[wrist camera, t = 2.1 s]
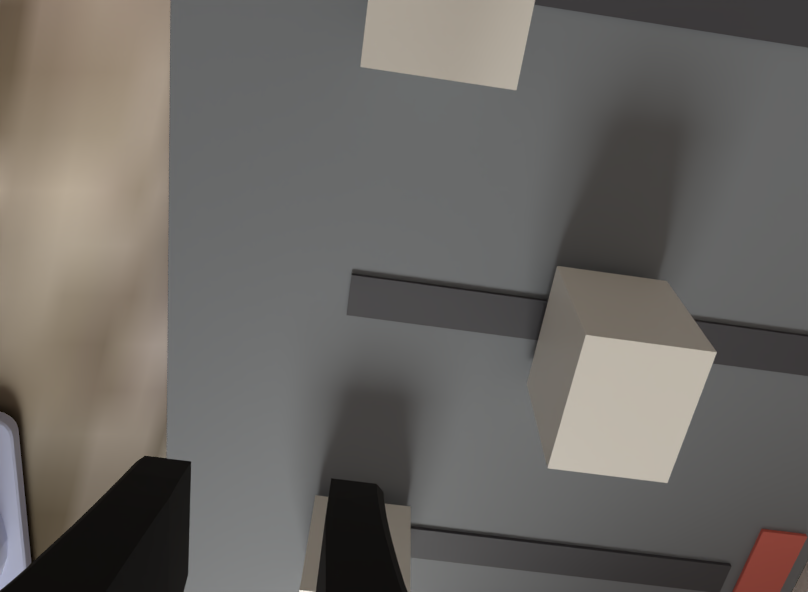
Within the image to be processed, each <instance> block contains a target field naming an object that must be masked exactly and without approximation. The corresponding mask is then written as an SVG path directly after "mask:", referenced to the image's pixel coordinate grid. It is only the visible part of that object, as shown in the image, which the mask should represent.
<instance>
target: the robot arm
mask: <svg viewBox="0 0 808 592" xmlns="http://www.w3.org/2000/svg"><path fill="white" fill-rule="evenodd" d="M190 490H191V461H184V460H175V459H167V458H159V457H150V456H144V457H143V458H141V459H140V460H138V461H137V462H136V463H135V464H134V465H133V466H132V467H131V468H130V469H129V470H128V471H127V472H126V473H125V474H124V475H123V476H122V477H121V478H120V479H119V480H118V481H117V482H116V483H115V484H114V485H113V486H112V487H111V488H110V489H109V490H108V491H107V492H106V493H105V494H104V495H103V496H102V497H101V498H100V499H99V500H98V501H97V502H96V503H95V504H94V505H93V506H92V507H91V508H90V509H89V510H88V511H87V512H86V513H85V514H84V515H83V516H82V517H81V518H80V519H79V520H78V521H77V522H76V523H75V524H74V525H73V526H72V527H70V528H69V529H68V530H67V531H66V532H65V533H64V534H63V535H62V536H61V537H60V538H59V539H57V540H56V541H55V542H54V543H53V544H52V545H51V546H50V547H49V548H48V549H47V550H45V551H44V552H43V553H42V554H41V555H40V556H39V557H38V558H37V559H36V560H35V561H33V562H32V563H31V554H30V543H29V533H28V523H27V512H26V502H25V492H24V481H23V471H22V461H21V450H20V440H19V430H18V426H17V423H16V422H15V421H14V419H13V418H12V417H11V416H9V415H7V414H6V413H3V412H0V592H184V588H185V585H186V581H187V577H188V565H189V528H190ZM316 592H408V591H407V589H406V586H405V583H404V580H403V576H402V573H401V570H400V567H399V564H398V560H397V556H396V553H395V549H394V545H393V542H392V538H391V534H390V529H389V525H388V520H387V515H386V509H385V503H384V492H383V491H382V489H381V488H380V487H379V486H378V485H377V484H375V483H366V482H358V481H350V480H341V479H333V478H331V483H330V490H329V496H328V503H327V510H326V516H325V524H324V532H323V539H322V547H321V555H320V562H319V570H318V578H317V586H316Z"/></svg>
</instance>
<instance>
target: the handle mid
mask: <svg viewBox="0 0 808 592" xmlns="http://www.w3.org/2000/svg"><path fill="white" fill-rule="evenodd" d="M716 353H717V352H716V350H715V349H714V348H713V346H712V345H711V343H710V342H709V340H708V339H707V338H706V336H705V335H704V333H703V332H702V330H701V329H700V328H699V326H698V325H697V323H696V322H695V320H694V319H693V318H692V316H691V315H690V313H689V312H688V310H687V309H686V308H685V306H684V305H683V303H682V302H681V300H680V299H679V298H678V296H677V295H676V293H675V292H674V291H673V289H672V288H671V286H670V285H669V283H668V282H667V281H663V280H656V279H649V278H642V277H634V276H627V275H620V274H613V273H605V272H598V271H591V270H584V269H576V268H569V267H562V266H557V268H556V272H555V276H554V280H553V284H552V287H551V291H550V295H549V299H548V303H547V307H546V311H545V315H544V319H543V323H542V327H541V330H540V334H539V338H538V342H537V346H536V350H535V354H534V358H533V362H532V366H531V369H530V373H529V377H528V381H527V387H528V391H529V395H530V399H531V403H532V407H533V411H534V415H535V419H536V423H537V428H538V432H539V436H540V440H541V444H542V448H543V452H544V456H545V460H546V464H547V468H549V469H557V470H565V471H574V472H582V473H590V474H598V475H606V476H614V477H622V478H631V479H639V480H647V481H655V482H663V483H668V480H669V477H670V475H671V472H672V470H673V467H674V464H675V462H676V459H677V456H678V454H679V451H680V448H681V446H682V443H683V440H684V438H685V435H686V433H687V430H688V427H689V425H690V422H691V419H692V417H693V414H694V411H695V409H696V406H697V404H698V401H699V398H700V396H701V393H702V390H703V388H704V385H705V382H706V380H707V377H708V374H709V372H710V369H711V367H712V364H713V361H714V359H715V356H716Z"/></svg>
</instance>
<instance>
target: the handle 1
mask: <svg viewBox="0 0 808 592" xmlns="http://www.w3.org/2000/svg"><path fill="white" fill-rule="evenodd" d="M327 503H328V497H326V496H318V495H315V501H314V507H313V513H312V519H311V525H310V531H309V537H308V542H307V548H306V554H305V560H304V566H303V572H302V578H301V584H300V590H299V592H316V586H317V578H318V570H319V562H320V555H321V547H322V539H323V532H324V524H325V516H326V510H327ZM385 509H386V515H387V520H388V525H389V529H390V534H391V538H392V542H393V545H394V549H395V553H396V556H397V560H398V564H399V567H400V570H401V573H402V576H403V580H404V583H405V586H406V589H407V591H408V592H410V557H411V507H410V506H402V505H393V504H385Z"/></svg>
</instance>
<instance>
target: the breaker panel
mask: <svg viewBox="0 0 808 592" xmlns="http://www.w3.org/2000/svg"><path fill="white" fill-rule="evenodd" d="M367 5H368V0H171V16H170V132H169V248H168V363H167V459H175V460H184V461H191V490H190V528H189V565H188V577H187V581H186V585H185V588H184V592H299V590H300V584H301V578H302V572H303V566H304V560H305V554H306V548H307V542H308V537H309V531H310V525H311V519H312V513H313V507H314V501H315V495H318V496H326V497H328V496H329V490H330V483H331V478H333V479H341V480H350V481H358V482H366V483H375V484H377V485H378V486H379V487H380V488H381V489H382V491H383V492H384V503H385V504H393V505H402V506H410V507H411V557H410V592H792V590H793V588H794V586H795V585H796V583H797V581H798V579H799V577H800V575H801V573H802V571H803V569H804V567H805V565H806V563H807V561H808V0H535V3H534V8H533V13H532V18H531V23H530V27H529V32H528V37H527V42H526V47H525V51H524V56H523V61H522V66H521V71H520V76H519V80H518V85H517V90H510V89H504V88H497V87H490V86H484V85H477V84H470V83H464V82H457V81H450V80H444V79H437V78H430V77H424V76H417V75H411V74H404V73H397V72H391V71H384V70H377V69H371V68H364V67H360V65H361V56H362V48H363V39H364V30H365V22H366V13H367ZM557 266H562V267H569V268H576V269H584V270H591V271H598V272H605V273H613V274H620V275H627V276H634V277H642V278H649V279H656V280H663V281H667V282H668V283H669V285H670V286H671V288H672V289H673V291H674V292H675V293H676V295H677V296H678V298H679V299H680V300H681V302H682V303H683V305H684V306H685V308H686V309H687V310H688V312H689V313H690V315H691V316H692V318H693V319H694V320H695V322H696V323H697V325H698V326H699V328H700V329H701V330H702V332H703V333H704V335H705V336H706V338H707V339H708V340H709V342H710V343H711V345H712V346H713V348H714V349H715V350H716V352H717V353H716V356H715V359H714V361H713V364H712V367H711V369H710V372H709V374H708V377H707V380H706V382H705V385H704V388H703V390H702V393H701V396H700V398H699V401H698V404H697V406H696V409H695V411H694V414H693V417H692V419H691V422H690V425H689V427H688V430H687V433H686V435H685V438H684V440H683V443H682V446H681V448H680V451H679V454H678V456H677V459H676V462H675V464H674V467H673V470H672V472H671V475H670V477H669V480H668V483H663V482H655V481H647V480H639V479H631V478H622V477H614V476H606V475H598V474H590V473H582V472H574V471H565V470H557V469H549V468H547V464H546V460H545V456H544V452H543V448H542V444H541V440H540V436H539V432H538V428H537V423H536V419H535V415H534V411H533V407H532V403H531V399H530V395H529V391H528V387H527V381H528V377H529V373H530V369H531V366H532V362H533V358H534V354H535V350H536V346H537V342H538V338H539V334H540V330H541V327H542V323H543V319H544V315H545V311H546V307H547V303H548V299H549V295H550V291H551V287H552V284H553V280H554V276H555V272H556V268H557Z"/></svg>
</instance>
